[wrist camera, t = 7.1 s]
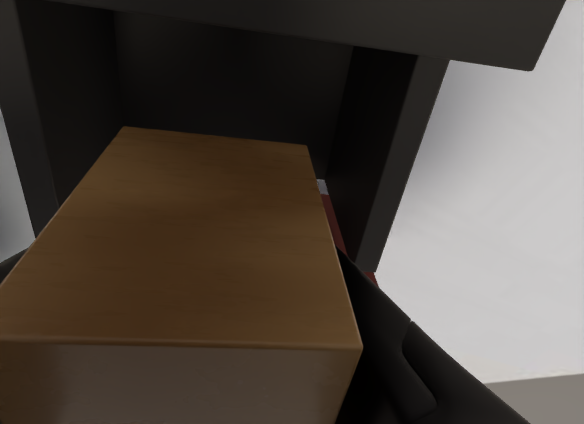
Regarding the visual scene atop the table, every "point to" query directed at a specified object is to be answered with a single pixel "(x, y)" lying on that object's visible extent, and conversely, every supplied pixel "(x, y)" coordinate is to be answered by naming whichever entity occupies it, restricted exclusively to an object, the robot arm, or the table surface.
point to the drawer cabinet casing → (380, 23)
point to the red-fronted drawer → (212, 104)
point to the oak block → (181, 292)
